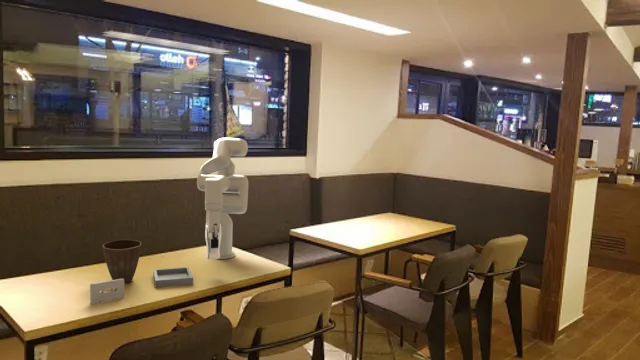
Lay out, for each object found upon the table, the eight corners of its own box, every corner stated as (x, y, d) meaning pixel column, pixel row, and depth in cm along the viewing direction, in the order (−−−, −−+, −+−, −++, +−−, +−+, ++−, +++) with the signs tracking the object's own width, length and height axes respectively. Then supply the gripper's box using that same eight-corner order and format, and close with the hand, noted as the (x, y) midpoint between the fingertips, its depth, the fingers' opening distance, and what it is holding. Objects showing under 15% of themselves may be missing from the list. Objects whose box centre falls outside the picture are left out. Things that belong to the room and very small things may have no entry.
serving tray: (153, 276, 209) (153, 269, 209) (188, 273, 215) (188, 266, 215) (155, 287, 196) (155, 280, 195) (192, 284, 201) (193, 277, 201)
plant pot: (127, 289, 193) (127, 250, 191) (95, 285, 196) (94, 247, 194) (148, 277, 207) (148, 241, 205) (117, 273, 210) (117, 238, 208)
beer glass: (212, 261, 208) (212, 227, 205) (201, 257, 212) (201, 224, 210) (224, 257, 213) (224, 224, 211) (214, 253, 217) (214, 222, 215)
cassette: (123, 296, 185) (123, 277, 184) (124, 298, 183) (124, 279, 182) (89, 303, 177) (89, 283, 176) (91, 305, 176) (90, 284, 175)
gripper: (202, 202, 215) (201, 240, 218) (208, 211, 199) (207, 252, 202) (218, 201, 218) (218, 239, 221) (226, 210, 202) (225, 250, 205)
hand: (213, 245), depth 212 cm, fingers closed on beer glass, 6 cm apart
